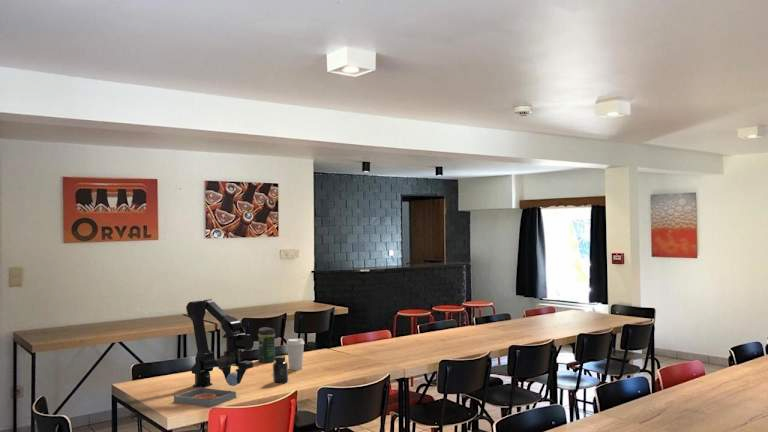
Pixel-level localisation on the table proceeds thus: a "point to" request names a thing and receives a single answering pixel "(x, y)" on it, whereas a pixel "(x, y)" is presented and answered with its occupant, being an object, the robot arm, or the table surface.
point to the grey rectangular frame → (205, 397)
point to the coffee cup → (295, 353)
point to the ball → (232, 379)
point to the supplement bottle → (280, 370)
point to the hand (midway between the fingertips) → (233, 383)
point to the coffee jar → (266, 344)
